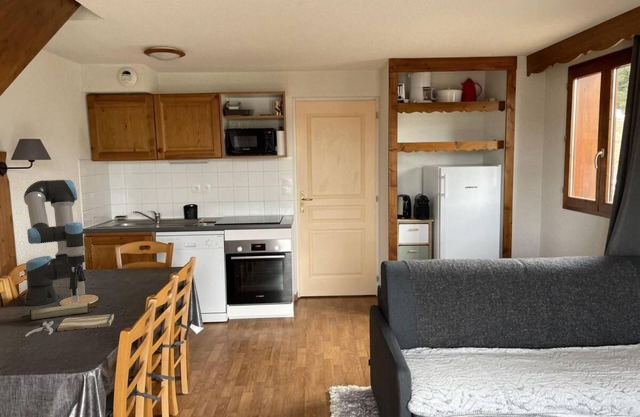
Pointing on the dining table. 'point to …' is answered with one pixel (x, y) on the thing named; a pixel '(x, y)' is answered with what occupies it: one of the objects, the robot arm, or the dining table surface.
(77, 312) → the rolling pin
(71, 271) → the robot arm
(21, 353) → the dining table surface
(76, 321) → the marking board
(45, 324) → the pliers
